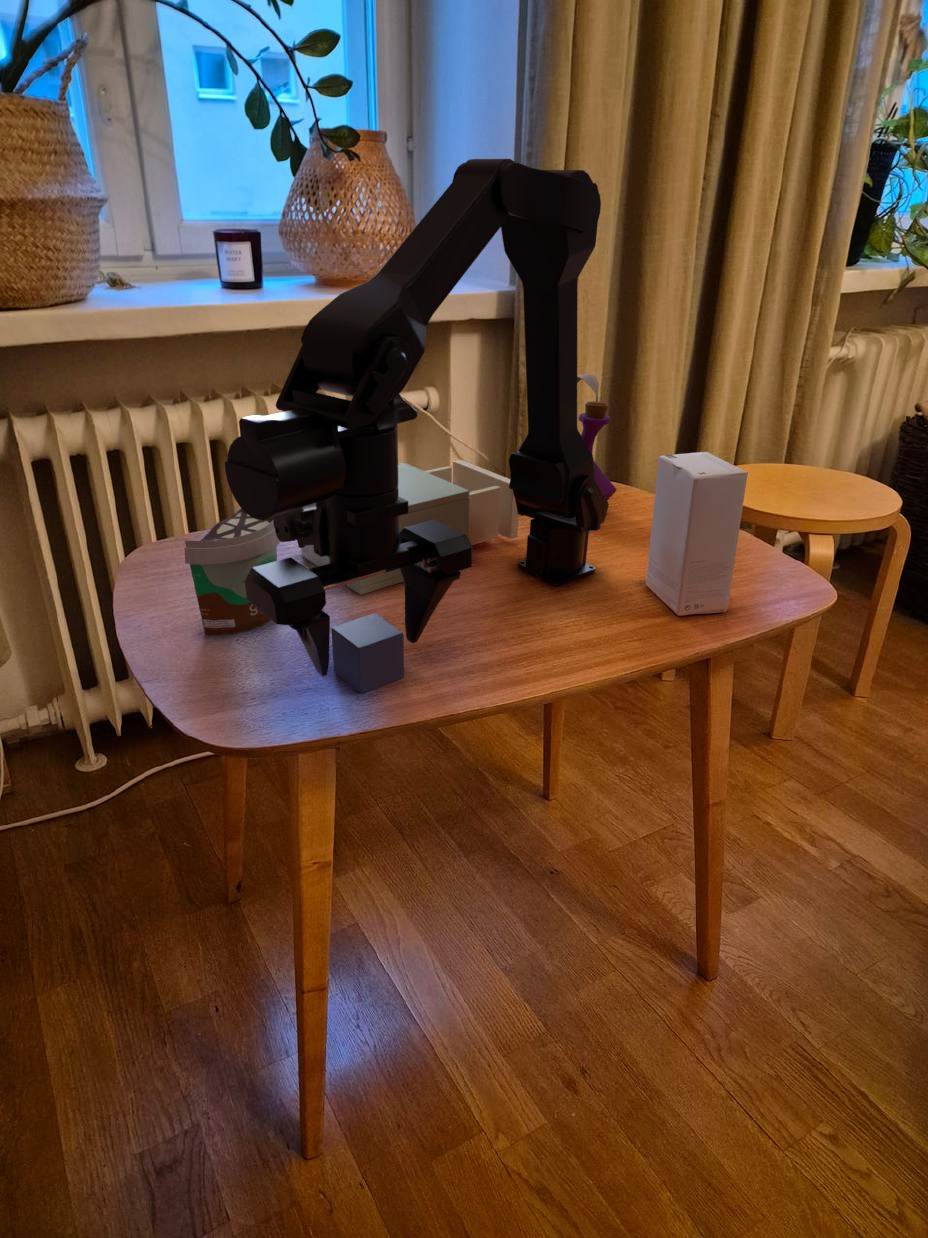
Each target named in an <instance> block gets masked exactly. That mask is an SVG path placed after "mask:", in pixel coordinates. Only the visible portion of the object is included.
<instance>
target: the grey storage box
mask: <svg viewBox="0 0 928 1238" xmlns="http://www.w3.org/2000/svg"><path fill="white" fill-rule="evenodd" d="M425 471H426V470H422V469H420V468H418V467H416V466H412V465H411V464H408V463H406V462H401V463H398V485H399V497H401V498H403V499H405V500H407V501H408V514H404V515H400V516H399V533H400V532H401V531H402V529H403V528H405V527H408V526H412V525H416V524H420V523H424V522H427V521H431V520H437V521H439V522H441V523H443V524H445V525H447V526H449V527H451V528H453V529H455V530H457V531H459V532H461V533H463V534H465V535H466V536H467V537H468V526H469V490H466V489H464V488H462V487H459V486H457V485H455V484H453V482H452V483H450V482H448V481H445V480H443V479H441V478H439V477H436V476H434V475H432V474H429V473H427V472H425ZM315 506H316V503H314V504H311V505H308V506H305V507H302V508H303V509H306V508H311V507H315ZM300 549H301V557H303V558H304V559H306V560H307V561H309V562H310V563H312V564H313V565H315V566H316V567H319V566H323V565H326V564H330V563H329V557H327V556H323V557H320V556H319V555H317V554H316V553H314V547H313V545H306V546H305V547H303V548H300ZM400 583H404V578H403V576H402V573H401V570H400V568H399V569H396V570H392V571H389V572H386V573H383V574H380V575H376V576H373V577H370V578H366V579H363V580H359V581H356V582H353V583H349V584H346V585H345V586H346V587H347V588H349V589H350V590H352V591H353V592H355V593H357V594H358V595H359V596H361V595H364V594H368V593H371V592H374V591H377V590H382V589H384V588H387V587H390V586H393V585H397V584H400Z"/></svg>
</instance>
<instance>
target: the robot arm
mask: <svg viewBox="0 0 928 1238" xmlns="http://www.w3.org/2000/svg"><path fill="white" fill-rule="evenodd" d="M453 173H454V174H453V177H452V181H451V183H450V184H449V185H448V186H447V188H446V189H445V191H443V193H442V194H441V195H440V197H439V198H438V199H437V200H436V202H435V203H434V204H433V205H432V206H431V207H430V209H429V210H428V211H427V213H426V214H425V215H424V216H423V218H422V219H421V220H420V221H419V223H418V224H417V225H416V226H415V227H414V228H413V230H412V231H411V232H410V233H409V234H408V236H407V237H406V238H405V239H404V240H403V242H402V243H401V245H399V247H398V248H397V250H395V252H394V253H392V256H390V257H389V259H388V260H387V261H386V263H385V264H384V265H383V267H382V268H381V269H380V270H379V271H378V272H377V273H376V274H375V275H374V276H372V277H371V278H369V280H367V281H365V282H363V283H361V284H359V285H357V286H355V287H353V288H351V289H348V290H346V291H344V292H342V293H340V294H338V295H337V296H336V297H335V298H334V299H332V300H331V301H330V302H329V303H327V304H326V305H325V306H324V307H323V308H322V309H320V310H319V311H318V312H317V313H316V314H315V315H314V316H313V317H312V318H311V319H309V320H308V322H307V324H306V326H305V328H304V329H303V332H302V335H301V337H300V343H301V347H300V348H299V351H298V353H297V355H296V358H295V360H294V362H293V365H292V366H291V368H290V371H289V373H288V375H287V378H286V379H285V382H284V384H283V387H282V389H281V390H280V393H279V395H278V398H277V400H276V402H275V407H276V409H277V410H278V411H281V412H276V413H272V414H267V415H259V414H254V415H253V414H252V415H247V416H244V417H240V419H239V421H238V426H239V427H238V428H239V434H240V436H238V437H236V438H235V439H233V441H232V442H231V444H230V445H229V448H228V451H227V460H226V461H225V462H224V471H225V472H224V473H225V476H226V480H227V481H226V482H227V484H228V486H229V490H230V492H231V494H232V496H233V498H234V500H235V502H236V503H237V504H238V506H239V507H240V509H241V508H242V509H243V510H244V511H245V512H246V513H247V514H248V515H249V516H251V517H252V518H254V519H257V520H265V519H268V518H271V517H273V524H274V528H275V532H276V536H277V538H278V539H279V541H281V542H280V543H288V542H294V541H297V545H298V548H299V549H301V548H303V547H305V546H306V545H313V547H314V553H316V554H317V555H319V556H320V557H323V556H327V557H329V563H330V564H326V565H323V566H319V567H318V566H316V567H315V566H314V567H312V568H307V567H305V566H304V565H303V564H301V563H300V562H299V561H297V560H296V559H294V558H293V557H291V556H290V557H288V558H283V559H279V560H277V561H275V562H271V563H268V564H264V565H260V566H256V567H252V568H251V570H250V572H249V573H248V575H247V577H246V580H245V588H246V596H247V600H248V601H249V602H250V603H252V604H253V605H254V606H255V607H256V608H258V609H259V610H260V611H261V612H262V613H264V614H265V615H266V616H267V617H268V618H270V619H271V621H272V622H273V623H274V624H276V625H277V626H278V625H279V626H288V627H290V629H292V630H295V632H296V633H297V635H298V636H299V638H300V640H301V642H302V644H303V646H304V648H305V651H306V652H307V654H308V656H309V659H310V661H311V663H312V664H313V666H314V668H315V670H316V672H317V673H318V674H319V675H320V676H322V677H326V676H327V675H328V672H329V667H330V638H331V637H330V633H331V616H330V615H329V614H328V613H327V612H325V611H324V610H323V609H324V608H325V606H326V605H327V597H326V591H329V590H333V589H336V588H339V587H343V586H346V584H349V583H353V582H356V581H359V580H363V579H366V578H370V577H373V576H376V575H380V574H383V573H386V572H389V571H392V570H396V569H399V568H400V570H401V573H402V576H403V578H404V582H403V583H404V629H405V637H406V640H407V641H408V642H410V643H411V644H416V643H418V641H419V639H420V637H421V635H422V634H423V632H424V630H425V629H426V626H427V625H428V623H429V621H430V619H431V617H432V616H433V614H434V612H435V611H436V608H437V607H438V605H439V604H440V602H441V601H442V599H443V598H444V597H445V594H447V592H448V591H449V589H450V588H451V586H452V584H453V583H454V582H455V581H458V580H460V579H461V576H462V575H461V573H462V572H461V571H465V570H468V569H471V568H472V566H473V551H474V550H473V545H472V544H471V542H470V540H469V538H468V537H467V536H466V535H465V534H463V533H461V532H459V531H457V530H455V529H453V528H451V527H449V526H447V525H445V524H443V523H441V522H439V521H437V520H431V521H427V522H424V523H420V524H416V525H412V526H408V527H405V528H403V529H402V531H401V532H400V533H399V516H400V515H404V514H408V501H407V500H405V499H403V498H401V497H399V485H398V464H399V435H398V433H399V432H398V430H399V429H398V425H399V424H403V423H407V422H409V421H414V420H416V419H417V418H418V414H419V413H418V410H417V409H416V408H414V406H412V405H411V404H410V403H408V401H406V400H405V399H404V398H403V397H402V395H401V393H402V392H403V390H404V389H405V387H406V386H407V384H408V383H409V381H410V379H411V378H412V375H413V374H414V372H415V370H416V368H417V366H418V364H419V363H420V361H421V359H422V357H423V355H424V353H425V351H426V338H427V337H426V333H427V326H428V324H429V323H430V321H431V319H432V317H433V315H434V314H435V313H436V312H437V311H438V309H439V308H440V307H441V305H442V304H443V303H444V301H445V300H446V299H447V297H448V296H449V295H450V293H451V292H452V291H453V290H454V289H455V287H456V286H457V285H458V283H459V282H460V280H461V279H462V278H463V277H464V275H465V274H466V272H468V270H469V269H470V267H471V266H472V265H473V264H474V262H476V260H477V258H478V257H479V256H480V255H481V253H482V252H483V250H484V249H486V247H487V246H488V244H489V243H490V242H491V240H492V239H493V238H494V236H495V235H496V234H497V233H498V231H499V230H500V231H501V238H502V245H503V250H504V253H505V255H506V257H507V259H508V260H509V262H510V264H511V266H512V267H513V269H514V271H515V273H516V274H517V276H518V278H519V280H520V282H521V284H522V299H523V301H522V302H523V327H524V355H525V356H524V357H525V379H526V380H525V383H526V386H525V388H526V410H527V411H526V412H527V414H526V415H527V434H526V436H525V437H524V440H523V441H522V442H521V444H520V446H519V447H518V449H517V451H514V452H512V453H510V455H509V458H508V465H509V466H508V467H509V471H510V473H509V475H510V477H509V479H510V484H509V489H512V490H513V494H514V497H515V501H516V507H517V512H518V515H519V516H525V517H528V518H532V519H530V522H529V534H527V539H526V552H525V554H526V555H525V559H524V560H521V561H518V562H517V567H518V568H519V569H521V570H523V571H525V572H526V573H529V574H531V575H533V576H535V577H537V578H539V579H541V580H543V581H545V582H547V583H549V584H551V585H553V586H560V585H563V584H566V583H569V582H572V581H575V580H577V579H580V578H583V577H585V576H588V575H591V574H594V573H596V570H597V568H596V566H594V565H592V564H589V563H588V562H587V555H588V546H589V535H590V532H594V531H595V532H597V531H600V530H601V526H602V524H604V522H605V520H606V517H607V514H608V510H609V505H610V504H609V502H608V501H609V500H606V498H605V496H604V495H603V493H602V491H601V490H600V488H599V486H598V485H597V483H596V482H595V477H594V466H593V459H594V455H593V456H592V454H593V452H592V453H591V452H590V450H589V448H588V447H587V445H586V443H585V441H584V440H583V438H582V436H581V433H580V431H579V429H578V428H579V427H578V383H577V376H578V282H579V277H580V275H581V274H582V271H583V269H584V268H585V266H586V264H587V262H588V260H589V259H590V258H591V255H592V253H593V252H594V250H595V248H596V246H597V235H598V234H597V233H598V224H599V219H600V215H601V208H602V201H601V194H600V192H599V188H598V184H597V183H596V182H593V180H592V178H591V176H590V174H589V173H588V172H586V171H585V169H540V168H539V169H538V168H534V167H530V166H527V165H525V164H522V163H520V162H516V161H515V160H513V159H511V158H472V159H468V160H467V161H466V162H462V163H461V164H459V166H457V168H456V170H455V171H454V172H453ZM320 389H321V390H323V391H327V392H330V393H335V394H339V395H342V396H347V397H352V398H351V400H349V399H346V398H341V397H337V396H332V395H328V394H324V393H320V392H318V391H319V390H320ZM314 503H316V506H315V507H311V508H306V509H303V508H302V507H305V506H308V505H311V504H314Z"/></svg>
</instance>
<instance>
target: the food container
mask: <svg viewBox="0 0 928 1238" xmlns="http://www.w3.org/2000/svg"><path fill="white" fill-rule="evenodd" d="M184 543H185V547H184V564H187V565H189V567H190V572H191V577H192V581H193V585H194V586H193V587H194V590H195V595H196V600H197V604H198V608H199V613H200V617H201V622H202V627H203V631H204V635H214V636H215V635H216V636H218V635H219V636H221V635H235V634H240V633H244V632H245V633H246V632H250V631H252V630H255V629H257V628H260V627H262V626H265V625H266V624H267V623H270V622H271V621H272V620H271V619H270V618H268V617H267V616H266V615H265V614H264V613H262V612H261V611H260V610H259V609H258V608H256V607H255V606H254V605H253V604H252V603H250V602H249V601H248V600H247V596H246V588H245V580H246V577H247V575H248V573H249V572H250V570H251V568H252V567H256V566H260V565H264V564H268V563H271V562H275V561H278V548H277V547H278V545H280V543H282V542H281V541H279V539H278V538H277V536H276V532H275V528H274V524H273V517H271V518H268V519H265V520H257V519H254V518H252V517H251V516H249V515H248V514H247V513H246V512H245V511H244V510H243V509H242V508H241V507H240V509H238V511H237V512H236V513H234V514H233V515H231V516H230V517H227V518H224V519H222V520H220V521H218V522H217V523H216V524H215V525H214V526H213V527H212V528H211V529H210V530H209V531H208V533H206V534H205V536H204V537H203V538H201V539H200V540H191V539H185V540H184Z"/></svg>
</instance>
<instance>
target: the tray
mask: <svg viewBox="0 0 928 1238" xmlns="http://www.w3.org/2000/svg"><path fill="white" fill-rule="evenodd" d="M424 471H425V472H427V473H429V474H432V475H434V476H436V477H439V478H441V479H443V480H445V481H448V482H450V483H452V484H455V485H457V486H459V487H462V488H464V489H466V490H469V526H468V538H469V540H470V542H471V544H472V546H474V545H477V544H482V543H483V542H488V541H491V540H495V539H498V538H499V535H501V536H503V537H505V538H507V539H509V540H512V539H516V538H518V536H519V535H518V534H519V519H520V515H518V512H517V507H516V501H515V497H514V494H513V490H512V489H509V484H510V478H509V477H506V476H503V475H501V474H498V473H495V472H492V471H490V470H488V469H485V468H483V467H480V466H477V465H475V464H472V463H470V462H467V461H465V460H462V459H457V460H453V461H452V466H449V465H445V466H443V467H438V468H433V469H428V470H424Z"/></svg>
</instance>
